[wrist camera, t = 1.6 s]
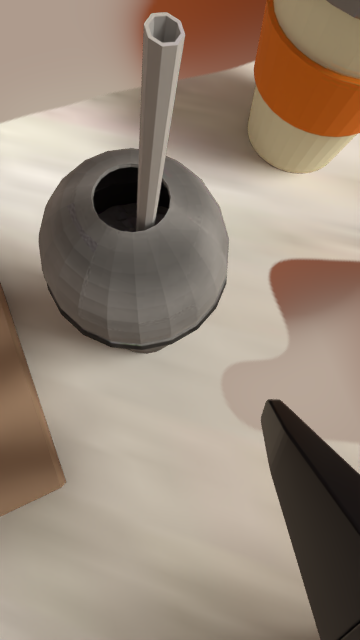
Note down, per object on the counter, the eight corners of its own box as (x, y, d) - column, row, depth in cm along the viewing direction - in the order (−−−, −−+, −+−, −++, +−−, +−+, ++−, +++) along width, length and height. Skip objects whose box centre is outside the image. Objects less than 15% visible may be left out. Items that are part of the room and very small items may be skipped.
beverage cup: (153, 262, 24) (152, -240, 5) (212, 331, 23) (486, 34, 4) (78, 316, 23) (-344, -114, 3) (137, 392, 22) (10, 382, 3)
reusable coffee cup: (220, 81, 30) (284, -219, 15) (340, 82, 31) (504, -193, 16) (238, 192, 27) (338, -49, 12) (369, 188, 28) (600, -33, 13)
